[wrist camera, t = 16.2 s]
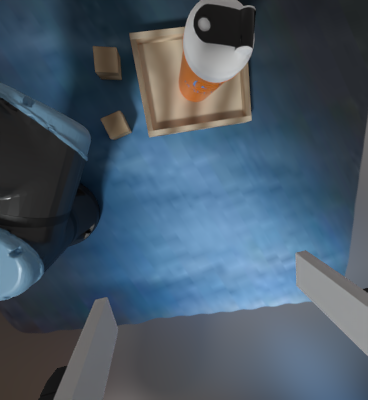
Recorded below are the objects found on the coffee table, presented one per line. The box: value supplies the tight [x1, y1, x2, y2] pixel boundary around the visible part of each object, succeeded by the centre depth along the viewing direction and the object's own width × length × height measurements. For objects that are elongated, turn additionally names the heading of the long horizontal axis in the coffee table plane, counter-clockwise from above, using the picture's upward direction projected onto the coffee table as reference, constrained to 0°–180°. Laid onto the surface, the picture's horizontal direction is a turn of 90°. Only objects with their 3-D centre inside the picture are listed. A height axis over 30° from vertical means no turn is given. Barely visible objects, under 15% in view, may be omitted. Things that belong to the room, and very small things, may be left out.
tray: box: [129, 27, 252, 137], centre depth 40 cm, size 22×18×3 cm
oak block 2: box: [101, 111, 132, 140], centre depth 40 cm, size 4×4×4 cm
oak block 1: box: [93, 46, 122, 80], centre depth 37 cm, size 4×4×4 cm
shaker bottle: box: [178, 0, 256, 102], centre depth 31 cm, size 9×9×20 cm
